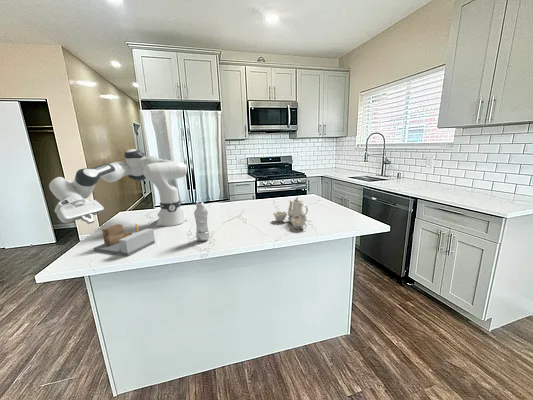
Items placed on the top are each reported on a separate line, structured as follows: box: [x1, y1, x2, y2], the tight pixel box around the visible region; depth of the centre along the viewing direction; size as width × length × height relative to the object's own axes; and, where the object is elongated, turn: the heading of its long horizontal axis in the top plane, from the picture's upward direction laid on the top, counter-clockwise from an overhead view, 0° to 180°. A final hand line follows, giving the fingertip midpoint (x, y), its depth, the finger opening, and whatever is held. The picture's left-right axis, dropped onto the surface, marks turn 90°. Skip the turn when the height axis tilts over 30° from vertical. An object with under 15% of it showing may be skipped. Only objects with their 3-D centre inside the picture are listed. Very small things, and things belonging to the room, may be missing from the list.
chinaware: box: [273, 196, 309, 231], centre depth 146 cm, size 28×17×17 cm, turn 38°
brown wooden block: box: [101, 223, 133, 246], centre depth 124 cm, size 4×12×8 cm, turn 160°
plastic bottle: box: [193, 201, 210, 242], centre depth 124 cm, size 6×7×20 cm
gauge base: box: [93, 228, 156, 257], centre depth 120 cm, size 22×16×8 cm
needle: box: [134, 223, 139, 233], centre depth 124 cm, size 2×3×8 cm, turn 161°
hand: (91, 222), depth 125 cm, fingers closed
